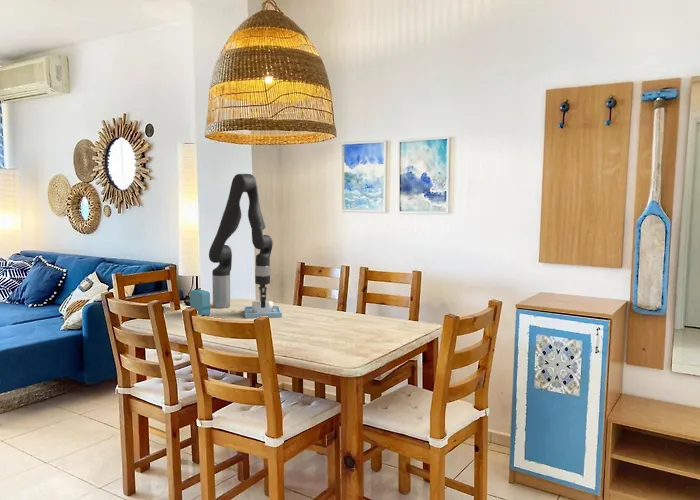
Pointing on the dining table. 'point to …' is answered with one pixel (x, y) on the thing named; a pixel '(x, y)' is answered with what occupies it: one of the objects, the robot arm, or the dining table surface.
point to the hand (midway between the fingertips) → (262, 305)
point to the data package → (200, 301)
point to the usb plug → (268, 308)
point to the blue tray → (253, 315)
